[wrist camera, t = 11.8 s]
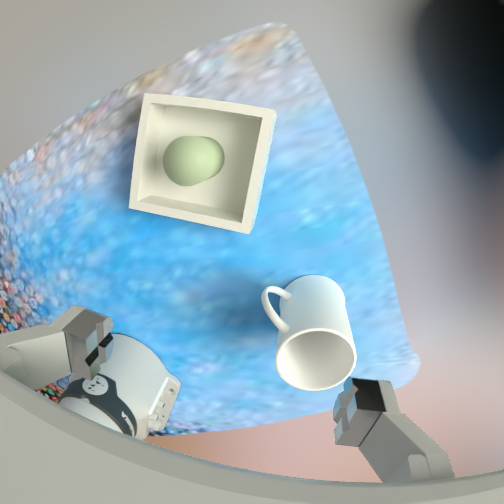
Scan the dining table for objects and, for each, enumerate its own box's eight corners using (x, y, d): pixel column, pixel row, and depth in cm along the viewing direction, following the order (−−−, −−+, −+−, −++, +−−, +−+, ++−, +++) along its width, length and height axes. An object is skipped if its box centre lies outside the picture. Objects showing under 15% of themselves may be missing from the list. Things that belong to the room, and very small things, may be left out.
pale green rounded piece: (228, 140, 35) (215, 139, 29) (220, 182, 36) (206, 190, 31) (186, 133, 35) (167, 132, 29) (179, 175, 37) (159, 181, 31)
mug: (248, 285, 41) (230, 338, 30) (298, 242, 38) (298, 284, 27) (308, 342, 43) (309, 404, 32) (357, 306, 40) (375, 362, 29)
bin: (255, 222, 38) (249, 234, 34) (147, 199, 39) (128, 208, 34) (277, 114, 34) (274, 109, 29) (162, 98, 35) (144, 93, 30)
